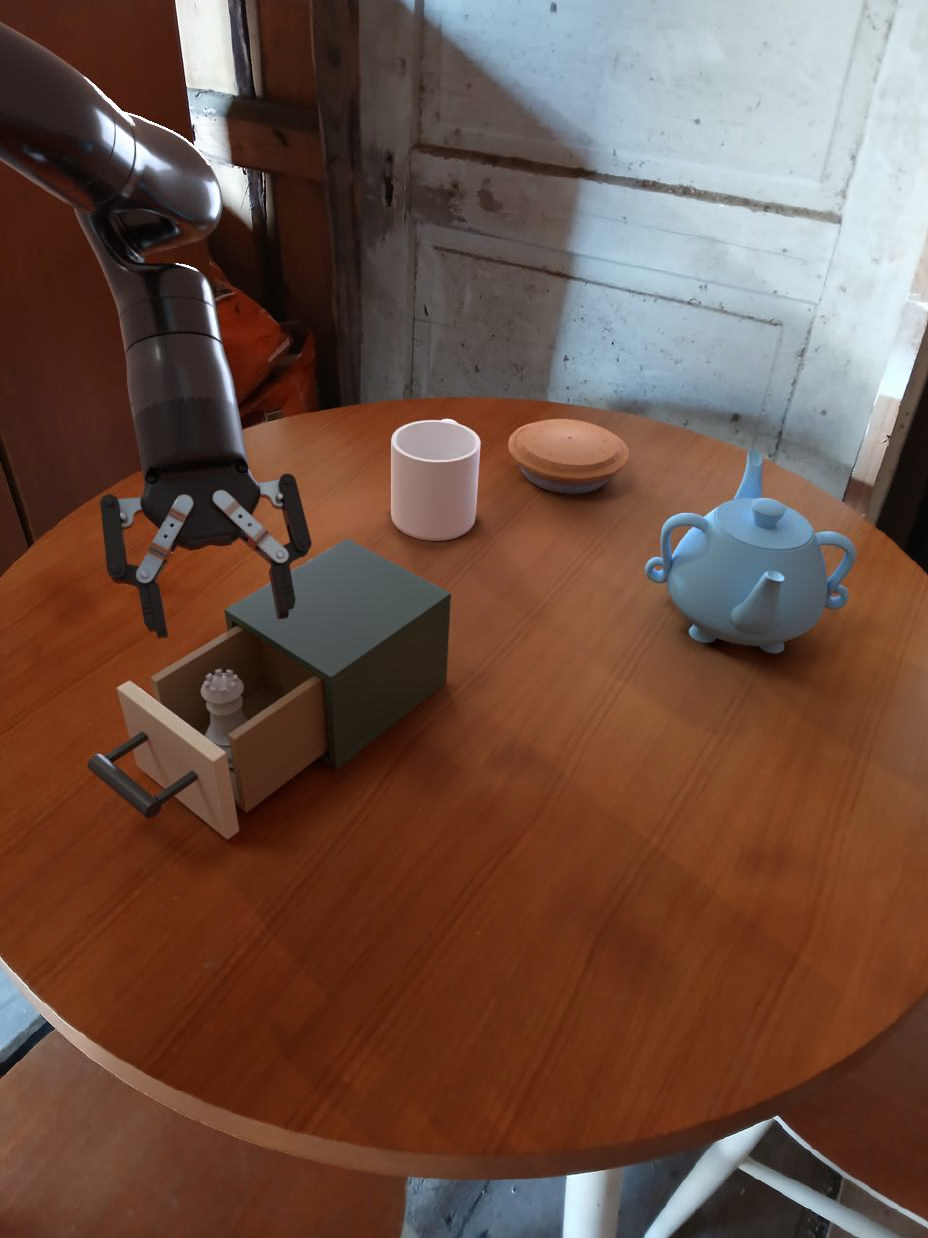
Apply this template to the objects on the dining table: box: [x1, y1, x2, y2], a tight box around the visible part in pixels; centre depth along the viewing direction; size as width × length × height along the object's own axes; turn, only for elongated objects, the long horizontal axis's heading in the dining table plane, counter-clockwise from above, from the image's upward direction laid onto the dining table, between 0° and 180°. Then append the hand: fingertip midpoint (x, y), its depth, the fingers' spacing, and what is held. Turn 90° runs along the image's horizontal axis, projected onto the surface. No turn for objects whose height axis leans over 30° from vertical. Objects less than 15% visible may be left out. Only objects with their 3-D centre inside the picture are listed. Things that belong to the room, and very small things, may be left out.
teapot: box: [644, 448, 857, 654], centre depth 91 cm, size 16×20×14 cm
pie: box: [507, 418, 630, 495], centre depth 116 cm, size 15×16×5 cm
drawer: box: [87, 625, 329, 841], centre depth 72 cm, size 18×11×9 cm, turn 141°
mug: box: [390, 418, 481, 542], centre depth 105 cm, size 13×10×10 cm
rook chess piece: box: [201, 669, 247, 768], centre depth 72 cm, size 4×4×8 cm
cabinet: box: [223, 538, 452, 771], centre depth 80 cm, size 15×13×11 cm
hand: (224, 627), depth 65 cm, fingers open, 8 cm apart
